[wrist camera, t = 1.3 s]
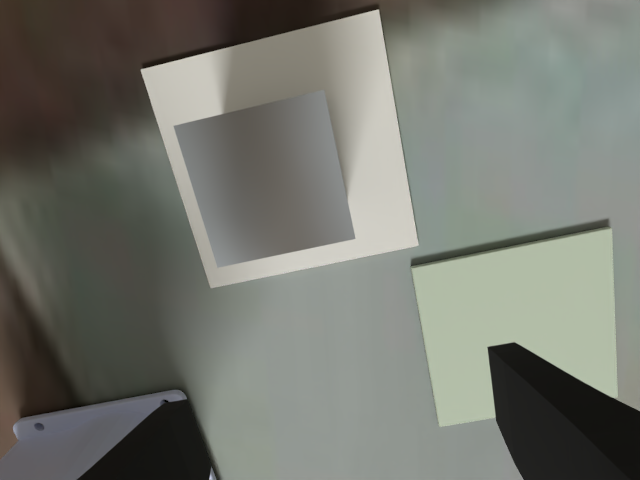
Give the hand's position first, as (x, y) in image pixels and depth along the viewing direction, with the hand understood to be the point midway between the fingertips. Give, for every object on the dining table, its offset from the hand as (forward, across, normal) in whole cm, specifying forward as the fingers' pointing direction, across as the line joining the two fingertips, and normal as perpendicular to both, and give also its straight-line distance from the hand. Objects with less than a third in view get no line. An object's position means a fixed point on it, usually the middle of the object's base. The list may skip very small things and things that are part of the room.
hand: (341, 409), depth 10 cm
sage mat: (+10, -8, +6) cm, 14 cm away
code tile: (+10, +1, -5) cm, 12 cm away
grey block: (+10, +1, -5) cm, 12 cm away
